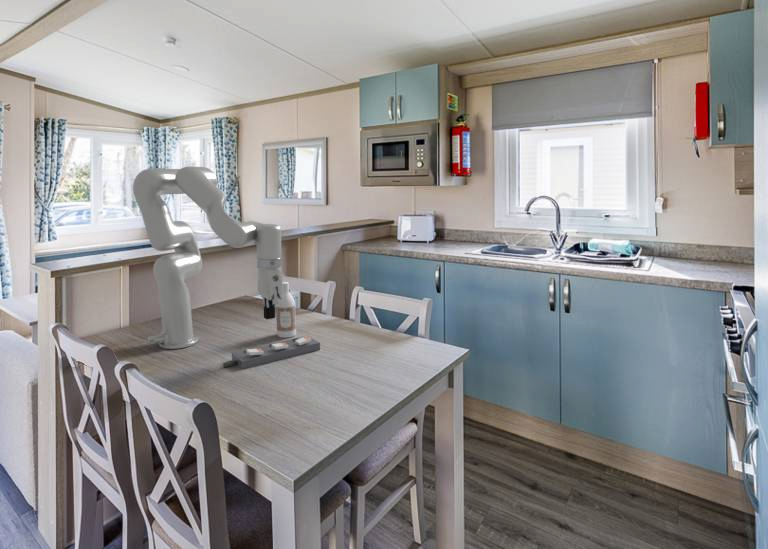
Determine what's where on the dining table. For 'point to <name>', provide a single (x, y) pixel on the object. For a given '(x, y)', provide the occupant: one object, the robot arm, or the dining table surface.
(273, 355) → the power strip
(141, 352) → the dining table surface
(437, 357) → the dining table surface
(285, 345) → the rocker middle
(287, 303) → the bath foam
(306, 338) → the rocker right
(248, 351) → the rocker left
